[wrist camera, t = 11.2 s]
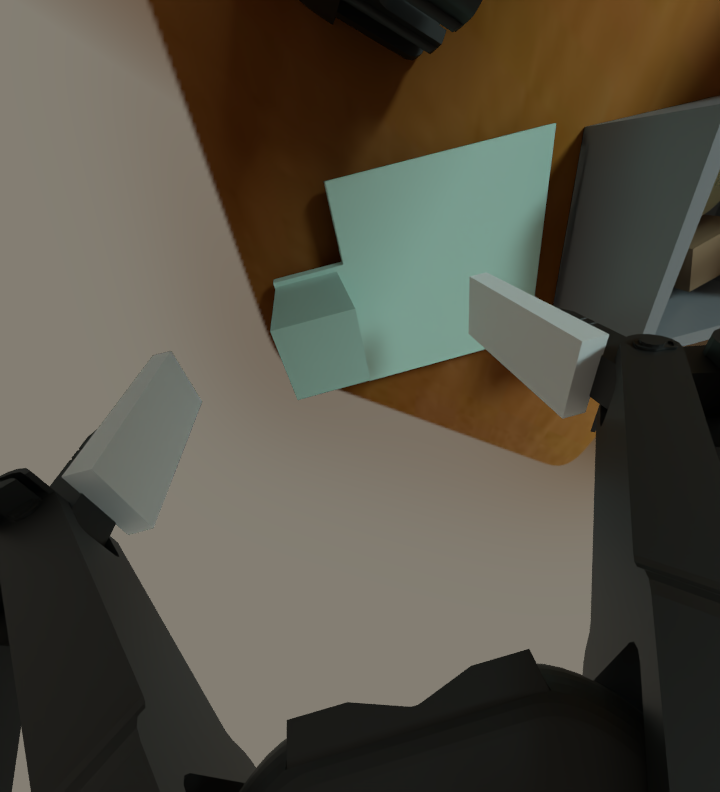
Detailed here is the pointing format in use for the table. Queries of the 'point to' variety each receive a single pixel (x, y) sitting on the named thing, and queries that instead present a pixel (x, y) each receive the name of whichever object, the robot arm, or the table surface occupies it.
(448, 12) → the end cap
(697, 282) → the walnut part
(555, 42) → the table surface
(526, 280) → the lid
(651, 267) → the tub
